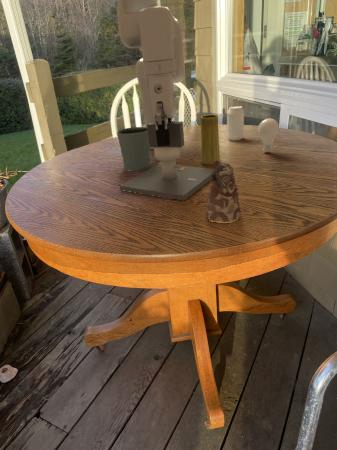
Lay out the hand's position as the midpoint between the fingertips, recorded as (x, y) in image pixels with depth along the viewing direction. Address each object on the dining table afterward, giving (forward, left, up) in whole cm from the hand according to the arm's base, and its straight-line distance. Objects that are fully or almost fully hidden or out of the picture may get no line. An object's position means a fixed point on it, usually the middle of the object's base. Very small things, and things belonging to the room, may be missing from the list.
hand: (166, 140), depth 85 cm
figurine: (+22, -14, -12) cm, 29 cm away
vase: (+3, +20, -12) cm, 24 cm away
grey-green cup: (-18, +9, -12) cm, 23 cm away
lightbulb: (+17, +34, -12) cm, 40 cm away
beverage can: (0, +49, -12) cm, 50 cm away
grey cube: (0, +1, -4) cm, 4 cm away
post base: (0, 0, -12) cm, 12 cm away
